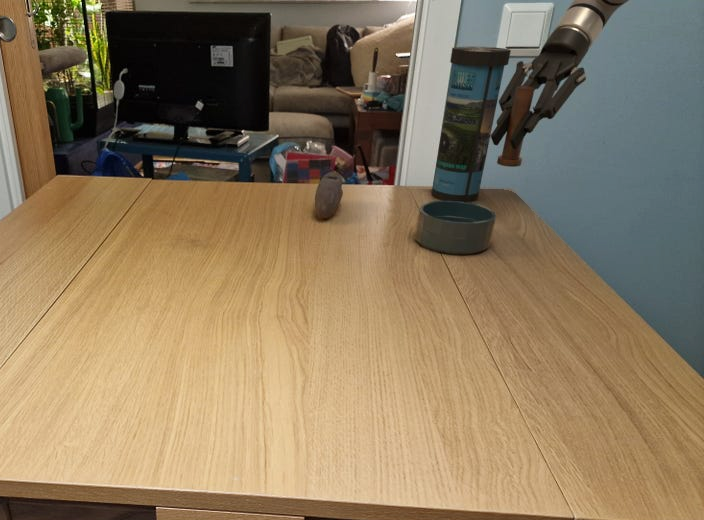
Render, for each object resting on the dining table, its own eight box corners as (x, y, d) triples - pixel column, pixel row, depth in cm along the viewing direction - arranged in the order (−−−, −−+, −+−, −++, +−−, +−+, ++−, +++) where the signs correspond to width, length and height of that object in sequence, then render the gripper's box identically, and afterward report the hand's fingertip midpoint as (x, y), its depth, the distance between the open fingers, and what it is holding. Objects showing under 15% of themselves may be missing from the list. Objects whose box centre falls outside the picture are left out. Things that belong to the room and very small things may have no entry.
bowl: (504, 249, 120) (512, 216, 117) (448, 260, 115) (455, 227, 112) (453, 227, 130) (459, 197, 127) (399, 237, 125) (404, 206, 122)
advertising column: (482, 192, 151) (512, 48, 136) (477, 205, 142) (508, 53, 127) (432, 186, 155) (455, 45, 140) (424, 199, 146) (448, 50, 131)
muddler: (525, 165, 128) (543, 88, 121) (509, 167, 127) (526, 89, 120) (508, 160, 132) (524, 84, 125) (492, 162, 130) (507, 86, 123)
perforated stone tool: (332, 225, 131) (335, 190, 127) (306, 222, 132) (308, 188, 129) (344, 203, 143) (347, 171, 140) (320, 201, 145) (322, 169, 141)
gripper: (616, 59, 123) (548, 163, 122) (534, 51, 134) (470, 147, 133) (612, 28, 117) (540, 137, 117) (526, 23, 128) (460, 122, 128)
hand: (503, 142), depth 125 cm, fingers closed on muddler, 3 cm apart
